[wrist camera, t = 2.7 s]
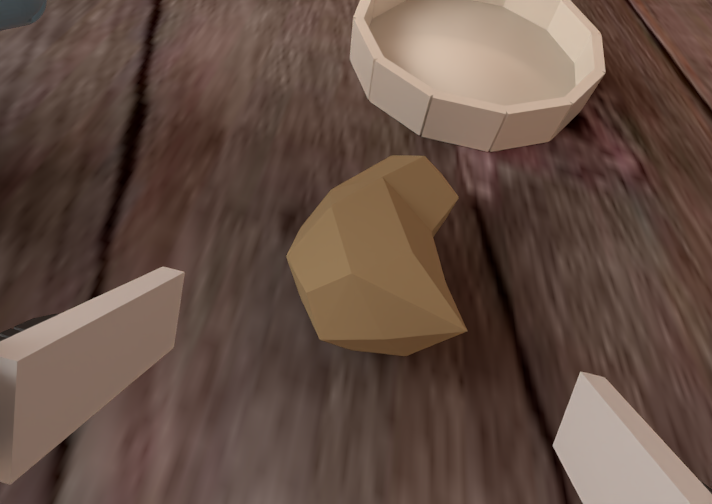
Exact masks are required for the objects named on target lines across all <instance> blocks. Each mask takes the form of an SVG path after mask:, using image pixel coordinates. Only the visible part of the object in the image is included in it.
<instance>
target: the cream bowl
mask: <svg viewBox="0 0 712 504" xmlns="http://www.w3.org/2000/svg"><path fill="white" fill-rule="evenodd" d="M350 61H351V63H352V66H353V68H354V70H355V72H356V74H357V77H358V79H359V81H360V83H361V85H362V87H363V90H364V92H365V94H366V96H367V98H368V100H369V101H370V102H371V103H373V104H374V105H376V106H377V107H379V108H380V109H381V110H383V111H384V112H386V113H387V114H389V115H390V116H391V117H393V118H394V119H396V120H397V121H399V122H400V123H402V124H403V125H404V126H406V127H407V128H409V129H410V130H412V131H413V132H415V133H416V134H417V135H421V134H422V136H421V137H425V138H429V139H434V140H438V141H442V142H447V143H451V144H456V145H460V146H464V147H469V148H473V149H477V150H482V151H486V152H488V151H490V152H493V151H499V150H505V149H510V148H516V147H522V146H528V145H533V144H539V143H545V142H549V141H551V140H552V139H553V138H554V137H555V136H556V135H557V134H558V133H559V132H560V131H561V130H562V129H563V128H564V127H565V126H566V125H567V124H568V123H569V122H570V121H571V120H572V119H573V118H574V117H575V116H576V115H577V114H578V113H579V112H580V111H581V110H582V108H583V107H584V105H585V104H586V102H587V101H588V99H589V98H590V96H591V95H592V93H593V91H594V90H595V88H596V87H597V85H598V84H599V82H600V81H601V79H602V78H603V76H604V74H605V72H606V71H605V62H604V53H603V44H602V36H601V34H600V32H599V31H598V30H597V29H596V27H595V26H594V25H593V24H592V23H591V22H590V21H589V20H588V19H587V18H586V17H585V16H584V15H583V14H582V12H581V11H580V10H579V9H578V8H577V7H576V6H575V5H574V4H573V3H572V2H571V1H570V0H360V2H359V4H358V7H357V9H356V12H355V14H354V16H353V25H352V37H351V49H350Z"/></svg>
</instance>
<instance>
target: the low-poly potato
mask: <svg viewBox="0 0 712 504" xmlns="http://www.w3.org/2000/svg"><path fill="white" fill-rule="evenodd" d="M458 198H459V197H458V196H457V194H456V193H455V191H454V190H453V189H452V187H451V186H450V185H449V183H448V182H447V181H446V179H445V178H444V176H443V175H442V174H441V173H440V171H439V170H438V169H437V168H436V167H435V166H434V165H433V164H432V163H431V162H430V161H429V160H428V159H427V158H426V157H425V156H402V155H391V156H390V157H388V158H386V159H384V160H383V161H381V162H379V163H377V164H376V165H374V166H372V167H370V168H368V169H367V170H365V171H363V172H361V173H360V174H358V175H356V176H354V177H352V178H351V179H349V180H347V181H345V182H344V183H342V184H340V185H338V186H336V187H335V188H333V189H331V190H330V191H329V193H328V194H327V195H326V196H325V198H324V199H323V200H322V201H321V203H320V204H319V205H318V206H317V208H316V209H315V210H314V211H313V213H312V214H311V215H310V216H309V218H308V219H307V220H306V221H305V223H304V224H303V225H302V226H301V228H300V230H299V232H298V234H297V236H296V238H295V240H294V242H293V244H292V246H291V248H290V250H289V252H288V254H287V256H286V258H287V261H288V263H289V266H290V269H291V272H292V275H293V278H294V281H295V283H296V286H297V289H298V292H299V295H300V298H301V300H302V302H303V304H304V306H305V309H306V311H307V313H308V315H309V317H310V319H311V322H312V324H313V326H314V328H315V330H316V333H317V335H318V337H319V339H320V340H322V341H325V342H328V343H331V344H334V345H337V346H340V347H343V348H346V349H349V350H354V351H363V352H372V353H380V354H389V355H398V356H408V355H410V354H413V353H415V352H418V351H420V350H423V349H425V348H427V347H430V346H432V345H435V344H437V343H440V342H442V341H445V340H447V339H450V338H452V337H455V336H457V335H460V334H462V333H464V332H467V329H466V327H465V324H464V322H463V320H462V318H461V316H460V313H459V311H458V309H457V307H456V304H455V302H454V300H453V298H452V295H451V293H450V291H449V289H448V287H447V284H446V281H445V278H444V274H443V271H442V267H441V264H440V260H439V257H438V253H437V250H436V246H435V242H434V239H433V237H434V236H435V234H436V233H437V231H438V230H439V228H440V227H441V225H442V224H443V222H444V221H445V219H446V218H447V216H448V215H449V213H450V211H451V210H452V208H453V206H454V205H455V203H456V201H457V200H458Z"/></svg>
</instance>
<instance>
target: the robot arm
mask: <svg viewBox="0 0 712 504" xmlns="http://www.w3.org/2000/svg"><path fill="white" fill-rule="evenodd" d="M46 2H47V0H0V31H1V30H6V29H11V28H16V27H20V26H25V25H29V24H31V23H34V22H35V21H37V20H38V19H39V18H40V17H41V16H42V14H43V13H44V10H45V8H46ZM184 275H185V272H183V271H179V270H175V269H171V268H167V267H161V268H158V269H156V270H154V271H152V272H150V273H148V274H145V275H143V276H141V277H139V278H137V279H135V280H132V281H130V282H128V283H126V284H124V285H122V286H119V287H117V288H115V289H113V290H111V291H109V292H106V293H104V294H102V295H100V296H98V297H95V298H93V299H91V300H89V301H87V302H85V303H82V304H80V305H78V306H76V307H74V308H72V309H69V310H67V311H65V312H63V313H61V314H59V315H58V314H52V315H48V316H43V317H38V318H34V319H31V320H29V321H26V322H24V323H22V324H20V325H17V326H15V327H14V329H11V328H10V329H8V330H6V331H4V332H1V333H0V482H3V483H6V484H12V483H13V482H14V481H15V480H16V479H18V478H19V477H20V476H21V475H22V474H24V473H25V472H26V471H27V470H28V469H30V468H31V467H32V466H33V465H34V464H36V463H37V462H38V461H39V460H40V459H41V458H43V457H44V456H45V455H46V454H47V453H49V452H50V451H51V450H52V449H53V448H55V447H56V446H57V445H58V444H59V443H61V442H62V441H63V440H64V439H65V438H67V437H68V436H69V435H70V434H71V433H73V432H74V431H75V430H76V429H77V428H78V427H80V426H81V425H82V424H83V423H84V422H86V421H87V420H88V419H89V418H90V417H92V416H93V415H94V414H95V413H96V412H98V411H99V410H100V409H101V408H102V407H104V406H105V405H106V404H107V403H108V402H109V401H111V400H112V399H113V398H114V397H115V396H117V395H118V394H119V393H120V392H121V391H123V390H124V389H125V388H126V387H127V386H129V385H130V384H131V383H132V382H133V381H135V380H136V379H137V378H138V377H139V376H140V375H142V374H143V373H144V372H145V371H146V370H148V369H149V368H150V367H151V366H152V365H154V364H155V363H156V362H157V361H158V360H160V359H161V358H162V357H163V356H164V355H166V354H167V353H168V352H169V351H170V350H171V349H173V348H174V344H175V337H176V330H177V323H178V316H179V309H180V302H181V296H182V289H183V282H184ZM553 447H554V449H555V451H556V453H557V455H558V457H559V459H560V461H561V463H562V465H563V467H564V468H565V470H566V472H567V474H568V476H569V478H570V480H571V482H572V484H573V486H574V488H575V490H576V491H577V493H578V495H579V497H580V499H581V501H582V503H583V504H712V489H711V488H709V487H708V486H707V485H705V484H704V483H703V482H701V481H700V480H699V479H698V478H697V477H696V476H695V475H694V474H693V473H692V472H691V471H690V470H689V469H688V468H687V467H686V465H685V464H684V463H683V462H682V461H681V460H680V459H679V458H678V457H677V456H676V455H675V453H674V452H673V451H672V450H671V449H670V448H669V447H668V446H667V445H666V444H665V443H664V441H663V440H662V439H661V438H660V437H659V436H658V435H657V434H656V433H655V432H654V431H653V429H652V428H651V427H650V426H649V425H648V424H647V423H646V422H645V421H644V420H643V419H642V418H641V416H640V415H639V414H638V413H637V412H636V411H635V410H634V409H633V408H632V407H631V406H630V404H629V403H628V402H627V401H626V400H625V399H624V398H623V397H622V396H621V395H620V394H619V392H618V391H617V390H616V389H615V388H614V387H613V386H612V385H611V384H610V383H609V382H608V380H607V379H606V378H605V377H601V376H597V375H593V374H589V373H585V372H581V371H580V374H579V376H578V379H577V382H576V384H575V387H574V390H573V393H572V395H571V398H570V401H569V403H568V406H567V409H566V411H565V414H564V417H563V419H562V422H561V425H560V427H559V430H558V433H557V435H556V438H555V441H554V443H553Z"/></svg>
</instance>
